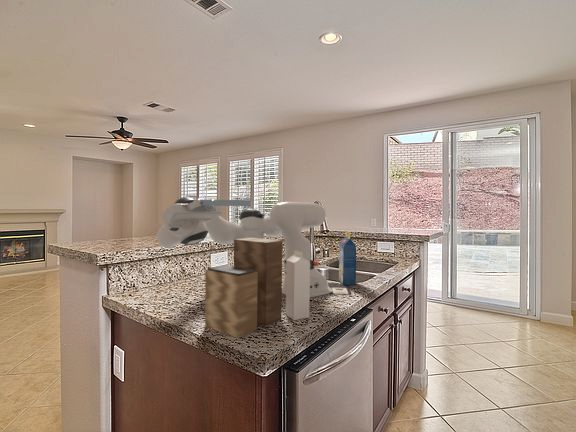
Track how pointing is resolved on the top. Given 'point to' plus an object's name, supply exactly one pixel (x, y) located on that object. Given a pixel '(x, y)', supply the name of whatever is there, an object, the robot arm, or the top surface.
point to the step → (231, 300)
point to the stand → (263, 274)
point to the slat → (226, 202)
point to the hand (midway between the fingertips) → (207, 201)
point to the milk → (297, 286)
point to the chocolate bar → (339, 288)
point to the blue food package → (347, 261)
